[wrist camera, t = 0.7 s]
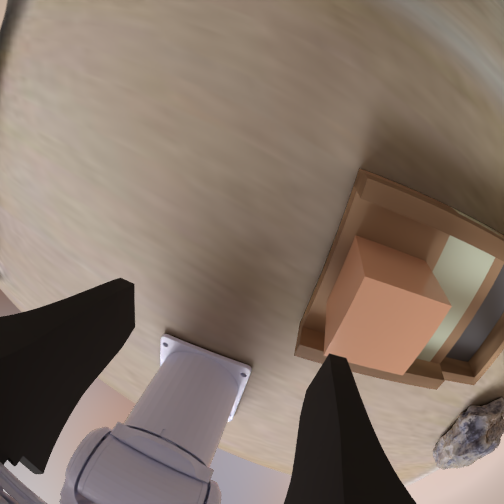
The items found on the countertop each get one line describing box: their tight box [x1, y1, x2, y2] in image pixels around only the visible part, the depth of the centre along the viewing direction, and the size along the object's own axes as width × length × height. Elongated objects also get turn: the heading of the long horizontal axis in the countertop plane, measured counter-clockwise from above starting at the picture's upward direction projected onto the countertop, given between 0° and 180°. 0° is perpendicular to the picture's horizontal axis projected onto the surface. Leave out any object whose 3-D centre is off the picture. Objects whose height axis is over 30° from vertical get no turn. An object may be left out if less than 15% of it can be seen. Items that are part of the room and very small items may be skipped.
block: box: [324, 235, 452, 375], centre depth 13 cm, size 4×4×4 cm
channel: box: [294, 168, 504, 390], centre depth 15 cm, size 11×16×3 cm
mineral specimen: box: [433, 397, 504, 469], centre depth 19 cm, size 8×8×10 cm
